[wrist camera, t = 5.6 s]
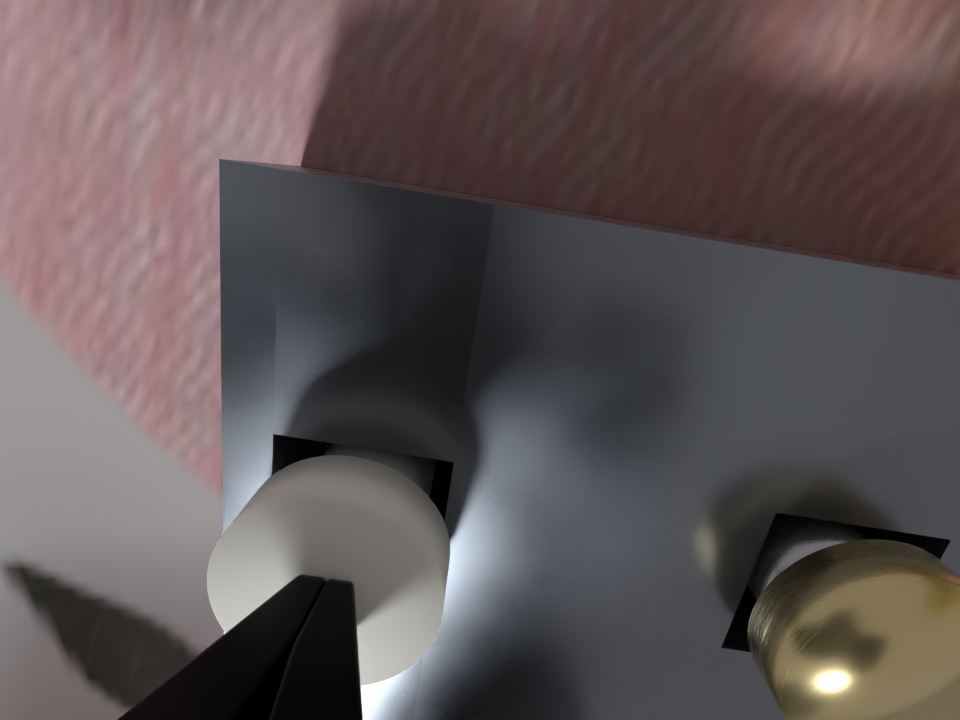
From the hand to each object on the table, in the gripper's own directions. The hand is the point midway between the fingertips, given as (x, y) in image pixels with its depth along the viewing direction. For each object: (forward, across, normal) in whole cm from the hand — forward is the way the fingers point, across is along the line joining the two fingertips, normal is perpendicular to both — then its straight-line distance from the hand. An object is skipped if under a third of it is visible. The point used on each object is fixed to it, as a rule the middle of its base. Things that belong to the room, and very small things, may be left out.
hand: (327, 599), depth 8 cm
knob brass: (+5, -9, 0) cm, 10 cm away
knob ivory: (+5, 0, 0) cm, 5 cm away
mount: (+5, -4, 0) cm, 7 cm away
